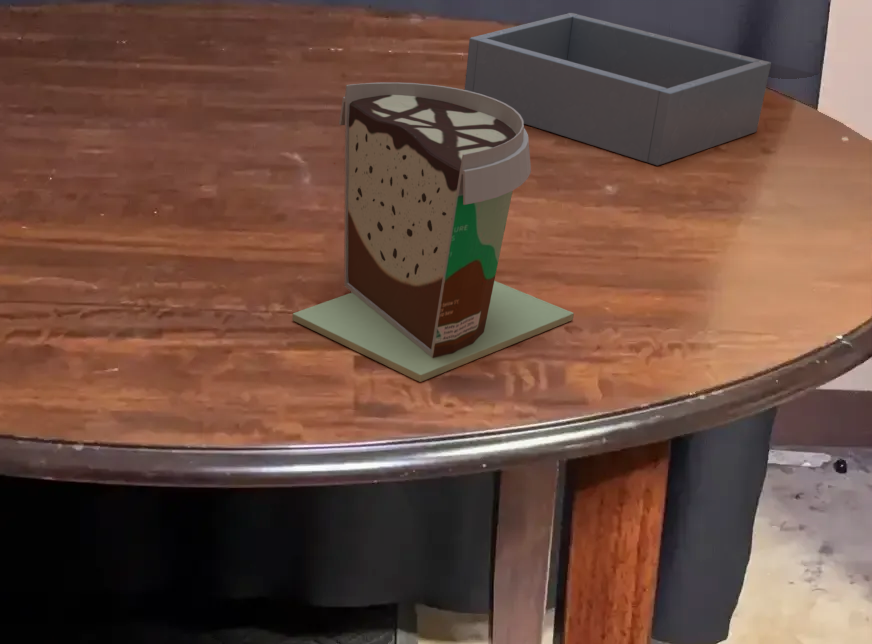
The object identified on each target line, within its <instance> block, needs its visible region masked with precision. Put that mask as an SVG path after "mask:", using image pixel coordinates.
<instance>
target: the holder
mask: <svg viewBox="0 0 872 644" xmlns="http://www.w3.org/2000/svg"><path fill="white" fill-rule="evenodd" d="M467 50H468V51H467V63H466V70H465V71H466V73H465V82H464V90H467V91H471V92H475V93H479V94H483V95H485V96H488V97H491V98H494V99H497V100H499V101H501V102H503V103H506V104H507V105H509V106H510V107H512V108H514V109H515V110H516V111H517V112H518V113H519V114H520V115H521V117H522V119H523V121H524V125H526V126H530V127H532V128H536V129H539V130H542V131H546V132H549V133H552V134H555V135H558V136H562V137H565V138H568V139H570V140H575V141H578V142H581V143H583V144H586V145H589V146H594V147H596V148H600V149H603V150H606V151H609V152H613V153H615V154H619V155H622V156H624V157H625V156H626V157H629V158H631V159H635V160H638V161H641V162H644V163H648V164H650V165H654V166H657V167H658V166H662V165H664V164H667V163H670V162H673V161H675V160H679V159H681V158H685V157H688V156H690V155H694V154H697V153H699V152H703V151H706V150H708V149H711V148H714V147H716V146H720V145H723V144H726V143H728V142H731V141H734V140H737V139H740V138H743V137H746V136H749V135H751V134H755V133H757V132H758V127H759V122H760V118H761V114H762V109H763V105H764V100H765V94H766V89H767V85H768V80H769V75H770V70H771V65H772V62H771V61H767V60H762V59H759V58H754V57H750V56H748V55H747V56H746V55H742V54H738V53H734V52H731V51H726V50H723V49H719V48H714V47H711V46H706V45H703V44H698V43H694V42H690V41H685V40H682V39H678V38H674V37H670V36H666V35H662V34H659V33H654V32H649V31H647V30H641V29H638V28H634V27H630V26H625V25H622V24H617V23H613V22H610V21H606V20H602V19H598V18H593V17H589V16H585V15H582V14H579V13H575V12H568V13H564V14H560V15H556V16H551V17H548V18H544V19H540V20H536V21H532V22H528V23H524V24H523V23H522V24H520V25H515V26H512V27H508V28H504V29H500V30H499V29H498V30H496V31H492V32H488V33H484V34H479V35H476V36H475V35H474V36H471V37H469V41H468V49H467Z"/></svg>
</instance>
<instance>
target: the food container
mask: <svg viewBox="0 0 872 644" xmlns="http://www.w3.org/2000/svg"><path fill="white" fill-rule="evenodd" d="M340 107H341V108H340V114H339V121H338V122H339V123H338V124H339V126H344V228H343V229H344V233H343V234H344V239H343V240H344V245H343V247H344V249H343V253H344V256H343V257H344V259H343V260H344V261H343V262H344V263H343V274H344V275H343V286H344V287H345V288H346V289H347V290H348V291H350V293H353V294H355V295H356V296H357V297H358V298H360V299H361V300H362V301H363V302H364V303H366V304H367V305H368V306H369V307H371V308H372V309H373V310H374V311H376V312H377V313H378V314H379V315H380V316H382V317H383V318H384V319H385V320H387V321H388V322H389V323H390V324H391V325H393V326H394V327H395V328H396V329H398V330H399V331H400V332H401V333H402V334H404V335H405V336H406V337H407V338H409V339H410V340H411V341H412V342H413V343H415V344H416V345H417V346H418V347H420V348H421V349H422V350H423V351H425V352H426V353H427V354H428V355H429V356H431V357H432V358H435V357H439V356H443V355H447V354H451V353H454V352H456V351H458V350H461V349H463V348H465V347H467V346H469V345H471V344H473V343H474V342H475V341H476V340H477V339H478V338H479V337H480V336H481V335H482V334H483V333H484V329H485V324H486V319H487V315H488V310H489V305H490V300H491V295H492V290H493V285H494V281H496V280H495V279H496V275H497V269H498V266H499V260H500V255H501V251H502V246H503V241H504V235H505V231H506V226H507V222H508V216H509V212H510V206H511V202H512V196H513V191H514V190H516V189H518V188H519V187H521V186H522V185H523V184H524V183H525V182H526V181H528V179H529V177H530V175H531V173H532V164H531V154H530V153H531V152H530V141H529V134H528V132H527V130H526V128H525V124H524V121H523V119H522V117H521V115H520V114H519V113H518V112H517V111H516V110H515V109H514V108H512V107H510V106H509V105H507V104H506V103H503V102H501V101H499V100H497V99H494V98H491V97H488V96H485V95H483V94H479V93H475V92H471V91H467V90H465V89H462V88H458V87H457V88H456V87H453V86H452V87H451V86H444V85H437V84H428V83H417V82H416V83H415V82H383V81H382V82H380V81H379V82H364V83H351V84H346V85H345V93H344V96H343V97H342V101H341V106H340Z"/></svg>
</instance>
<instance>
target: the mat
mask: <svg viewBox="0 0 872 644" xmlns="http://www.w3.org/2000/svg"><path fill="white" fill-rule="evenodd" d="M574 315H575V313H574V312H572V311H570V310H567V309H565V308H563V307H560V306H558V305H556V304H554V303H550V302H548V301H546V300H543V299H541V298H538V297H535V296H533V295H531V294H529V293H526V292H524V291H521V290H519V289H516V288H513V287H512V286H509V285H506V284H504V283H502V282H499V281H496V280H494V285H493V290H492V295H491V300H490V305H489V310H488V315H487V319H486V324H485V329H484V333H483V334H482V335H481V336H480V337H479V338H478V339H477V340H476V341H475V342H474V343H473V344H471V345H469V346H467V347H465V348H463V349H461V350H458V351H456V352H454V353H451V354H447V355H443V356H439V357H435V358H432V357H431V356H429V355H428V354H427V353H426V352H425V351H423V350H422V349H421V348H420V347H418V346H417V345H416V344H415V343H413V342H412V341H411V340H410V339H409V338H407V337H406V336H405V335H404V334H402V333H401V332H400V331H399V330H398V329H396V328H395V327H394V326H393V325H391V324H390V323H389V322H388V321H387V320H385V319H384V318H383V317H382V316H380V315H379V314H378V313H377V312H376V311H374V310H373V309H372V308H371V307H369V306H368V305H367V304H366V303H364V302H363V301H362V300H361V299H360V298H358V297H357V296H356V295H355V294H353V293H352V292H350V293H347V294H344V295H340V296H338V297H335V298H333V299H330V300H329V299H328V300H326V301H323V302H321V303H319V304H318V303H317V304H315V305H312V306H310V307H306V308H304V309H301V310H299V311H296V312H293V313H292V321H293V322H295V323H297V324H299V325H301V326H303V327H305V328H306V329H307V328H308V329H309V330H311V331H314V332H316V333H318V334H320V335H322V336H323V337H326V338H327V339H330V340H333V341H334V342H336V343H338V344H340V345H343V346H345V347H347V348H349V349H350V350H353V351H354V352H357V353H359V354H361V355H363V356H365V357H367V358H370V359H371V360H374V361H375V362H378V363H380V364H381V365H384V366H386V367H388V368H390V369H392V370H394V371H396V372H397V373H400V374H402V375H404V376H405V377H406V376H407V377H408V378H411V379H412V380H415V381H417V382H418V383H421V382H424V381H427V380H429V379H432V378H434V377H437V376H439V375H441V374H443V373H446V372H448V371H452V370H453V369H456V368H459V367H461V366H464V365H466V364H468V363H471V362H473V361H476V360H478V359H480V358H481V359H482V358H483V357H486V356H487V355H490V354H493V353H495V352H498V351H500V350H503V349H505V348H507V347H510V346H513V345H516V344H517V343H520V342H522V341H524V340H527V339H530V338H532V337H535V336H537V335H539V334H543V333H544V332H546V331H547V332H548V331H550V330H552V329H554V328H558V327H559V326H561V325H564V324H566V323H569V322H571V321H573V320H574Z"/></svg>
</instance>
